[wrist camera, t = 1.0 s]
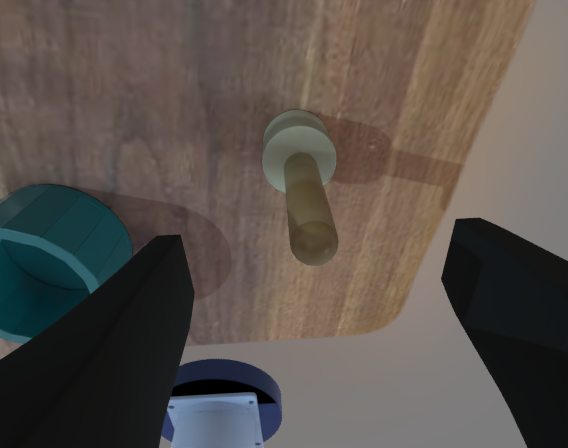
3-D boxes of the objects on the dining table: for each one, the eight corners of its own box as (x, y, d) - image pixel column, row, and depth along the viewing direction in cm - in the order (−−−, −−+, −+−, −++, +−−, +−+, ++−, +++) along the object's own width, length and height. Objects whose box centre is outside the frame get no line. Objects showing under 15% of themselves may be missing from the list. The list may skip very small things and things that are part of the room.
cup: (146, 286, 22) (123, 342, 19) (28, 293, 22) (-18, 350, 19) (111, 179, 18) (73, 224, 15) (-32, 187, 18) (-105, 233, 15)
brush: (328, 171, 18) (370, 295, 11) (265, 175, 18) (262, 302, 11) (329, 107, 17) (380, 201, 9) (260, 111, 17) (253, 208, 9)
